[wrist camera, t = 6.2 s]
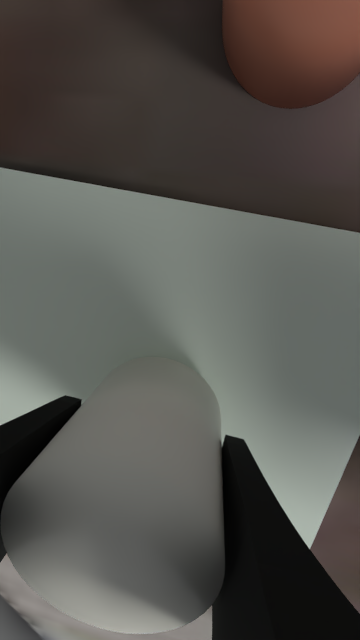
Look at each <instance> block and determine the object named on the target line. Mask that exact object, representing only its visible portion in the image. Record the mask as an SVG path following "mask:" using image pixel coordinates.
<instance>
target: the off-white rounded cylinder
mask: <svg viewBox="0 0 360 640" xmlns="http://www.w3.org/2000/svg"><path fill="white" fill-rule="evenodd" d="M0 525H1V535H2V539H3V543H4V546H5V549H6V552H7V554H8V556H9V558H10V560H11V562H12V564H13V566H14V567H15V569H16V570H17V572H18V573H19V575H20V576H21V577H22V578H23V580H24V581H25V582H26V583H27V584H28V585H29V587H31V588H32V589H33V590H34V591H35V592H36V593H37V594H38V595H39V596H40V597H41V598H43V599H44V600H45V601H46V602H48V603H49V604H50V605H52V606H53V607H55V608H56V609H58V610H59V611H61V612H63V613H65V614H67V615H68V616H70V617H72V618H74V619H77V620H79V621H81V622H83V623H86V624H89V625H92V626H94V627H97V628H101V629H105V630H109V631H114V632H120V633H129V634H152V633H160V632H165V631H169V630H173V629H176V628H179V627H182V626H184V625H186V624H188V623H190V622H192V621H194V620H195V619H197V618H198V617H199V616H201V615H202V614H203V613H205V612H206V610H207V609H208V608H209V607H210V606H211V605H212V604H213V602H214V601H215V599H216V598H217V596H218V594H219V592H220V590H221V587H222V584H223V580H224V575H225V546H224V509H223V471H222V434H221V412H220V407H219V403H218V400H217V398H216V396H215V393H214V392H213V390H212V388H211V387H210V386H209V384H208V383H207V382H206V381H205V379H203V378H202V377H201V376H200V375H199V374H198V373H197V372H195V371H194V370H193V369H191V368H190V367H188V366H186V365H184V364H182V363H180V362H177V361H175V360H171V359H168V358H162V357H141V358H136V359H132V360H130V361H127V362H125V363H123V364H121V365H119V366H118V367H116V368H115V369H114V370H112V371H111V372H110V373H109V374H108V375H107V376H106V378H105V379H104V380H103V381H102V382H101V383H100V385H99V386H98V387H97V388H96V389H95V390H94V392H93V393H92V394H91V395H90V396H89V397H88V398H87V400H86V401H85V402H84V403H83V404H82V405H81V407H80V408H79V409H78V410H77V411H76V412H75V414H74V415H73V416H72V417H71V418H70V419H69V420H68V422H67V423H66V424H65V425H64V426H63V427H62V429H61V430H60V431H59V432H58V433H57V434H56V436H55V437H54V438H53V439H52V440H51V441H50V442H49V444H48V445H47V446H46V447H45V448H44V449H43V451H42V452H41V453H40V454H39V455H38V456H37V458H36V459H35V460H34V461H33V462H32V463H31V464H30V466H29V467H28V468H27V469H26V470H25V471H24V473H23V474H22V475H21V476H20V477H19V478H18V480H17V481H16V482H15V483H14V485H13V486H12V487H11V489H10V490H9V492H8V494H7V496H6V498H5V500H4V503H3V507H2V511H1V521H0Z"/></svg>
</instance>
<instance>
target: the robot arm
mask: <svg viewBox="0 0 360 640" xmlns="http://www.w3.org/2000/svg"><path fill="white" fill-rule="evenodd" d="M81 402H82V399H79V398H75V397H71V396H66V395H65V396H62V397H60V398H58V399H55V400H53V401H51V402H49V403H47V404H45V405H43V406H41V407H38V408H36V409H34V410H32V411H30V412H28V413H26V414H24V415H21V416H19V417H17V418H15V419H13V420H11V421H9V422H6V423H4V424H2V425H0V521H1V511H2V507H3V503H4V500H5V498H6V496H7V494H8V492H9V490H10V489H11V487H12V486H13V485H14V483H15V482H16V481H17V480H18V478H19V477H20V476H21V475H22V474H23V473H24V471H25V470H26V469H27V468H28V467H29V466H30V464H31V463H32V462H33V461H34V460H35V459H36V458H37V456H38V455H39V454H40V453H41V452H42V451H43V449H44V448H45V447H46V446H47V445H48V444H49V442H50V441H51V440H52V439H53V438H54V437H55V436H56V434H57V433H58V432H59V431H60V430H61V429H62V427H63V426H64V425H65V424H66V423H67V422H68V420H69V419H70V418H71V417H72V416H73V415H74V414H75V412H76V411H77V410H78V409H79V408H80V407H81ZM222 471H223V509H224V546H225V575H224V580H223V584H222V587H221V590H220V592H219V594H218V596H217V598H216V599H215V601H214V602H213V604H212V640H360V614H359V613H358V611H357V610H356V609H355V608H354V607H353V605H352V604H351V603H350V602H349V600H348V599H347V598H346V597H345V595H344V594H343V593H342V592H341V590H340V589H339V588H338V587H337V585H336V584H335V583H334V581H333V580H332V579H331V578H330V576H329V575H328V573H327V572H326V571H325V569H324V568H323V567H322V565H321V564H320V563H319V561H318V560H317V559H316V557H315V556H314V555H313V553H312V552H311V550H310V549H309V548H308V546H307V545H306V543H305V542H304V541H303V539H302V538H301V536H300V535H299V533H298V532H297V530H296V529H295V527H294V526H293V524H292V522H291V521H290V519H289V518H288V516H287V515H286V513H285V511H284V510H283V508H282V507H281V505H280V503H279V502H278V500H277V498H276V497H275V495H274V493H273V492H272V490H271V488H270V486H269V485H268V483H267V481H266V479H265V478H264V476H263V474H262V472H261V470H260V469H259V467H258V465H257V463H256V461H255V459H254V457H253V455H252V453H251V452H250V450H249V448H248V446H247V444H246V442H245V440H244V439H241V438H237V437H233V436H229V435H225V438H224V442H223V445H222ZM6 553H7V552H6V549H5V546H4V543H3V539H2V535H1V525H0V562H1V561H2V559H3V558H4V556H5V555H6Z"/></svg>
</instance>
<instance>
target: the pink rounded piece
mask: <svg viewBox="0 0 360 640" xmlns="http://www.w3.org/2000/svg"><path fill="white" fill-rule="evenodd" d="M222 36H223V45H224V50H225V54H226V57H227V60H228V63H229V66H230V68H231V70H232V72H233V74H234V76H235V77H236V79H237V80H238V82H239V83H240V85H241V86H242V87H243V88H244V89H245V90H246V91H247V92H248V93H249V94H251V95H252V96H253V97H254V98H256V99H258V100H259V101H261V102H263V103H266V104H268V105H271V106H274V107H279V108H289V109H292V108H302V107H307V106H311V105H314V104H317V103H320V102H322V101H324V100H326V99H328V98H330V97H332V96H333V95H335V94H336V93H338V92H339V91H341V90H342V89H343V88H345V87H346V86H347V85H348V84H349V83H351V82H352V81H353V80H354V78H355V77H356V76H357V75H358V74H359V73H360V0H223V9H222Z"/></svg>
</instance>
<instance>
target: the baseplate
mask: <svg viewBox="0 0 360 640" xmlns="http://www.w3.org/2000/svg"><path fill="white" fill-rule="evenodd" d="M141 357H162V358H168V359H171V360H175V361H177V362H180V363H182V364H184V365H186V366H188V367H190V368H191V369H193V370H194V371H195V372H197V373H198V374H199V375H200V376H201V377H202V378H203V379H205V381H206V382H207V383H208V384H209V386H210V387H211V388H212V390H213V392H214V393H215V396H216V398H217V400H218V403H219V407H220V412H221V434H222V445H223V442H224V438H225V435H229V436H233V437H237V438H241V439H244V440H245V442H246V444H247V446H248V448H249V450H250V452H251V453H252V455H253V457H254V459H255V461H256V463H257V465H258V467H259V469H260V470H261V472H262V474H263V476H264V478H265V479H266V481H267V483H268V485H269V486H270V488H271V490H272V492H273V493H274V495H275V497H276V498H277V500H278V502H279V503H280V505H281V507H282V508H283V510H284V511H285V513H286V515H287V516H288V518H289V519H290V521H291V522H292V524H293V526H294V527H295V529H296V530H297V532H298V533H299V535H300V536H301V538H302V539H303V541H304V542H305V543H306V545H307V546H308V548H309V549H310V548H311V545H312V543H313V541H314V538H315V536H316V534H317V531H318V529H319V527H320V525H321V522H322V520H323V518H324V515H325V513H326V511H327V509H328V506H329V504H330V502H331V499H332V497H333V495H334V493H335V490H336V488H337V486H338V483H339V481H340V479H341V477H342V474H343V472H344V470H345V467H346V465H347V463H348V461H349V458H350V456H351V454H352V451H353V449H354V447H355V445H356V442H357V440H358V438H359V435H360V233H358V232H352V231H347V230H341V229H336V228H330V227H325V226H319V225H314V224H308V223H303V222H297V221H292V220H286V219H281V218H275V217H270V216H264V215H259V214H253V213H248V212H242V211H237V210H231V209H226V208H220V207H215V206H209V205H204V204H198V203H193V202H187V201H181V200H176V199H170V198H165V197H159V196H154V195H148V194H143V193H137V192H132V191H126V190H121V189H115V188H110V187H104V186H99V185H93V184H88V183H82V182H77V181H71V180H66V179H60V178H55V177H49V176H44V175H38V174H33V173H27V172H22V171H16V170H11V169H5V168H0V425H2V424H4V423H6V422H9V421H11V420H13V419H15V418H17V417H19V416H21V415H24V414H26V413H28V412H30V411H32V410H34V409H36V408H38V407H41V406H43V405H45V404H47V403H49V402H51V401H53V400H55V399H58V398H60V397H62V396H65V395H66V396H71V397H75V398H79V399H82V402H81V405H82V404H83V403H84V402H85V401H86V400H87V398H88V397H89V396H90V395H91V394H92V393H93V392H94V390H95V389H96V388H97V387H98V386H99V385H100V383H101V382H102V381H103V380H104V379H105V378H106V376H107V375H108V374H109V373H110V372H111V371H112V370H114V369H115V368H116V367H118V366H119V365H121V364H123V363H125V362H127V361H130V360H132V359H136V358H141Z"/></svg>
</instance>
